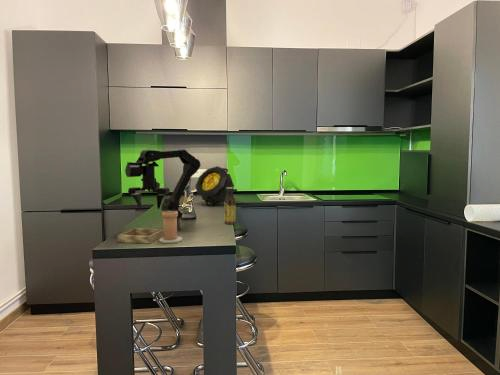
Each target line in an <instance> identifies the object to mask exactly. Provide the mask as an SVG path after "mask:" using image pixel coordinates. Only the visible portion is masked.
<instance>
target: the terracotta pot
mask: <svg viewBox="0 0 500 375" xmlns="http://www.w3.org/2000/svg"><path fill="white" fill-rule="evenodd" d="M177 216H178V211H174V210H168V211H163V212H162V211H161V217H162V229H163V239H164V240H175V239H177V236H178V231H177Z"/></svg>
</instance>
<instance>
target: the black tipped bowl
mask: <svg viewBox="0 0 500 375" xmlns="http://www.w3.org/2000/svg"><path fill="white" fill-rule="evenodd" d="M228 171H229V169H228V168H226V167H224V168H223V167H220V166H217V165H216V166H213V167H210V168H207V169H205V170H204V172H202V173H201V174H200V175H199V176H198V179H197V181H196V182H195V183H196V184H195V190H196V194H197V195H199V196H201V199H202V200H203V201H204V202H205V205H206V206H208V207H211V206H213V205H218V204H222V203H224V201H225V198H226V194H227V191H226V188H228V187H232V188H234V191H233V193H235V192H238V189H237V188H236V189H235V185H234V182H233V179H232V176H231V174H229V173H228Z"/></svg>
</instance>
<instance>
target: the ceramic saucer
mask: <svg viewBox="0 0 500 375" xmlns="http://www.w3.org/2000/svg"><path fill="white" fill-rule="evenodd" d="M182 240H183V237H182V236H178V235H177V239H175V240H164V239H163V237H161V238H159V239H158V242H159V243H163V244H175V243H179V242H180V243H181V241H182Z"/></svg>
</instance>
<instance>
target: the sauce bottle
mask: <svg viewBox="0 0 500 375" xmlns="http://www.w3.org/2000/svg"><path fill="white" fill-rule="evenodd" d="M234 189H235V187H234V188H232V187H228V188H226V191H227V194H226V198H225V201H224V202H223V204H224V206H223V210H224V212H223V213H224V216H223V219H224V223H225V224H226V225H234V224H236V215H237V214H236V210H237V209H236V208H237V206H236V205H237V204H236V198H235V197H234Z"/></svg>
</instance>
